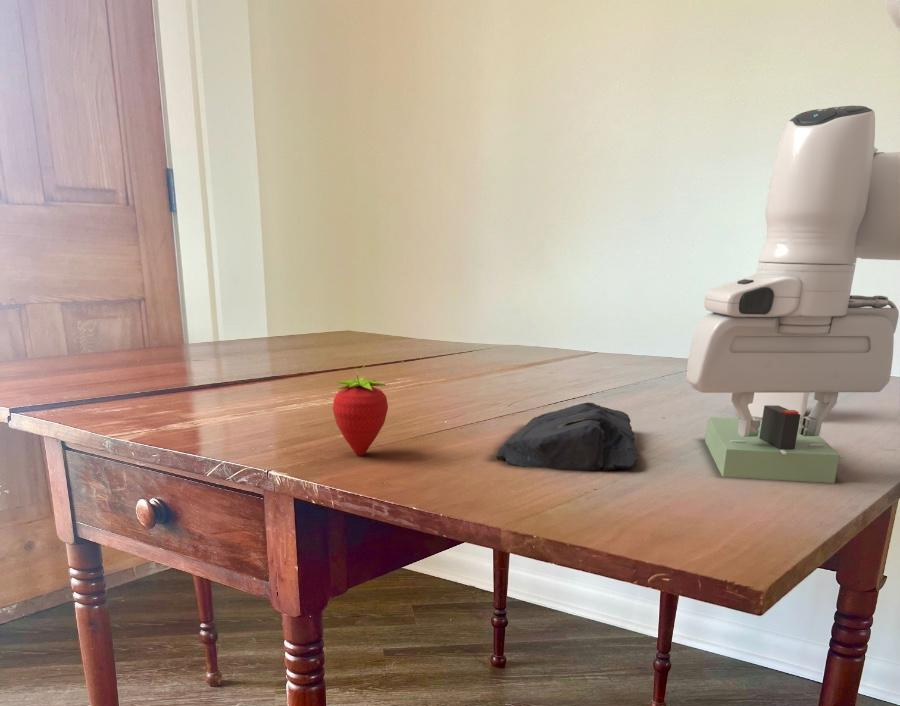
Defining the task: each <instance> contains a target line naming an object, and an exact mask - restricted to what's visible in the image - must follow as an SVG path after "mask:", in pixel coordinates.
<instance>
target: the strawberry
mask: <svg viewBox="0 0 900 706" xmlns="http://www.w3.org/2000/svg"><path fill="white" fill-rule="evenodd" d="M366 365H367V363H365V364H363V366H362V367H361V368H360V370H359V371H358V372H357V373H356V379H345V380H338V381H336V384H343V385H342V386H340V387H337V390H339V391H337V393H336V394H335V396H333V401H332V402H333V403H332V412H333V416H334V420H335V423H336V426H337V428H338V430H339V431H340V433H341V435H342V436H343V438H344V440H345V441H346V443H347V444H348V445H349V447H350V448H351V450H352V452H353V453H354V454H355V455H356V456H358V457H363V456H364V455H366V453H367V452H368V450H369V448H370V447H371V445H372V444H373V442H374V441H375V440H376V439H377V437H378V435H379V434H380V431H381V429H382V428H383V427H384V425H385V422H386V418H387V415H388V414H387V413H388V409H389V405H388V398H387V396H386V394H385V393H384V391H383V390H382V389H379V388H377V387H380V386H381V387H382V386H383V387H385V386H386V384H385V383H381V382H378V381H376V379H375V380H374V379H366V378H362V377H359V374H360V372H361V371H362V370H363V369H364V368H365V366H366Z"/></svg>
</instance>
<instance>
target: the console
mask: <svg viewBox="0 0 900 706" xmlns="http://www.w3.org/2000/svg"><path fill="white" fill-rule="evenodd" d="M739 419H740V417H721V416H719V417H718V416H708V417H707V422H706V423H707V424H706V431H705V440H704V442H705V444H706V446H707V448H708V450H709V452H710V454H711V457H712V459H713V460H714V462H715V465H716V466H717V468H718V470H719V473H720V474H721V477H723V478H738V479H756V480H775V481H790V482H791V481H792V482H793V481H794V482H810V483H829V484H831V483H832V484H835V482H836V476H837V471H838V466H839V462H840V457H841V456H840V453H838V451H836V449H834V448H833V447H832V446H831V445H830V444H829V443H828V442H827V441H825V439H823V437H822V436H821V435H819V436H803V435H800V434H799V427H800V426H801V424H800V421H799V427H798V433H797V439H796V444H795V449H779V448H777V447H775V446H773V445H771V444H769V443H767V442H765V441H763V440H762V439H760V438H759V437H760V430H761V424H762V418H757V419H758V420H760V426H759V428H758V431H759V432H758V436H756V437H742V436H740V435H739V434H738V427H739Z"/></svg>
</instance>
